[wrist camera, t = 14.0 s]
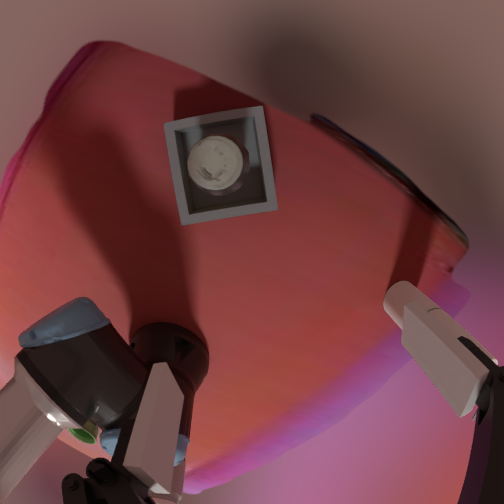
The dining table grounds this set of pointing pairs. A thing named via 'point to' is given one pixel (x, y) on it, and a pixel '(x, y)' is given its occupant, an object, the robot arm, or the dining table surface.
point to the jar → (172, 487)
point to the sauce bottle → (218, 164)
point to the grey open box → (260, 174)
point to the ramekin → (86, 433)
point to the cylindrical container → (409, 293)
